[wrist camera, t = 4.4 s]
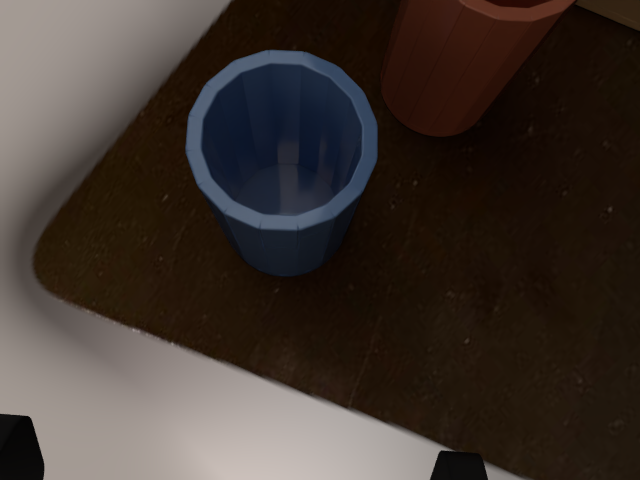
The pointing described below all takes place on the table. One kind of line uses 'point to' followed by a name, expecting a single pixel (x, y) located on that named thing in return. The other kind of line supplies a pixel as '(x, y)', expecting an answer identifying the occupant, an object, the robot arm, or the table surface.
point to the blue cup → (282, 157)
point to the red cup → (460, 57)
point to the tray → (616, 10)
